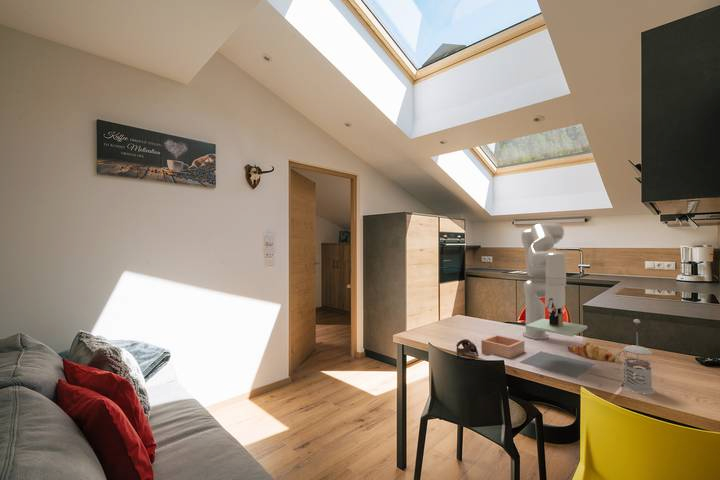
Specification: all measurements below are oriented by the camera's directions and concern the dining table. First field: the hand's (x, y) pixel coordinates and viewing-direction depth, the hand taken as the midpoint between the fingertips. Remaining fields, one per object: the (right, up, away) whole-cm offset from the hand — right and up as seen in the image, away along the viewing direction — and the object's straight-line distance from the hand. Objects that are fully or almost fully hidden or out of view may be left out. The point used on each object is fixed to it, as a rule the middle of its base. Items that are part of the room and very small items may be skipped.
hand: (556, 323), depth 146 cm
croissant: (+21, -18, +8) cm, 29 cm away
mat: (0, -18, 0) cm, 18 cm away
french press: (+16, -18, -22) cm, 33 cm away
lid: (0, -2, 0) cm, 2 cm away
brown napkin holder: (-34, -19, +15) cm, 41 cm away
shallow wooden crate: (-16, -18, +16) cm, 29 cm away
